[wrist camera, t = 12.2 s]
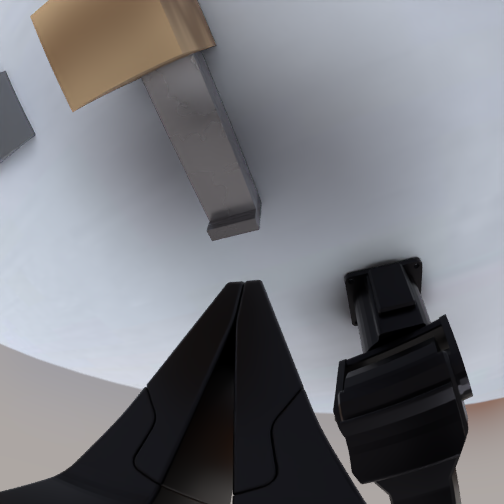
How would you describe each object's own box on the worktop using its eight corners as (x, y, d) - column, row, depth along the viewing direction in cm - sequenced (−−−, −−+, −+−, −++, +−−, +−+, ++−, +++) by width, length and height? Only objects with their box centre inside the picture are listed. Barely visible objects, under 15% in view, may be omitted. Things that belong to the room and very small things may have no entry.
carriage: (216, 45, 14) (182, 53, 9) (135, 80, 15) (72, 112, 10) (184, -30, 11) (134, -57, 6) (105, 11, 12) (30, 16, 7)
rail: (261, 202, 21) (259, 229, 18) (219, 214, 22) (212, 241, 19) (161, -40, 11) (141, -50, 8) (115, -16, 12) (89, -20, 9)
